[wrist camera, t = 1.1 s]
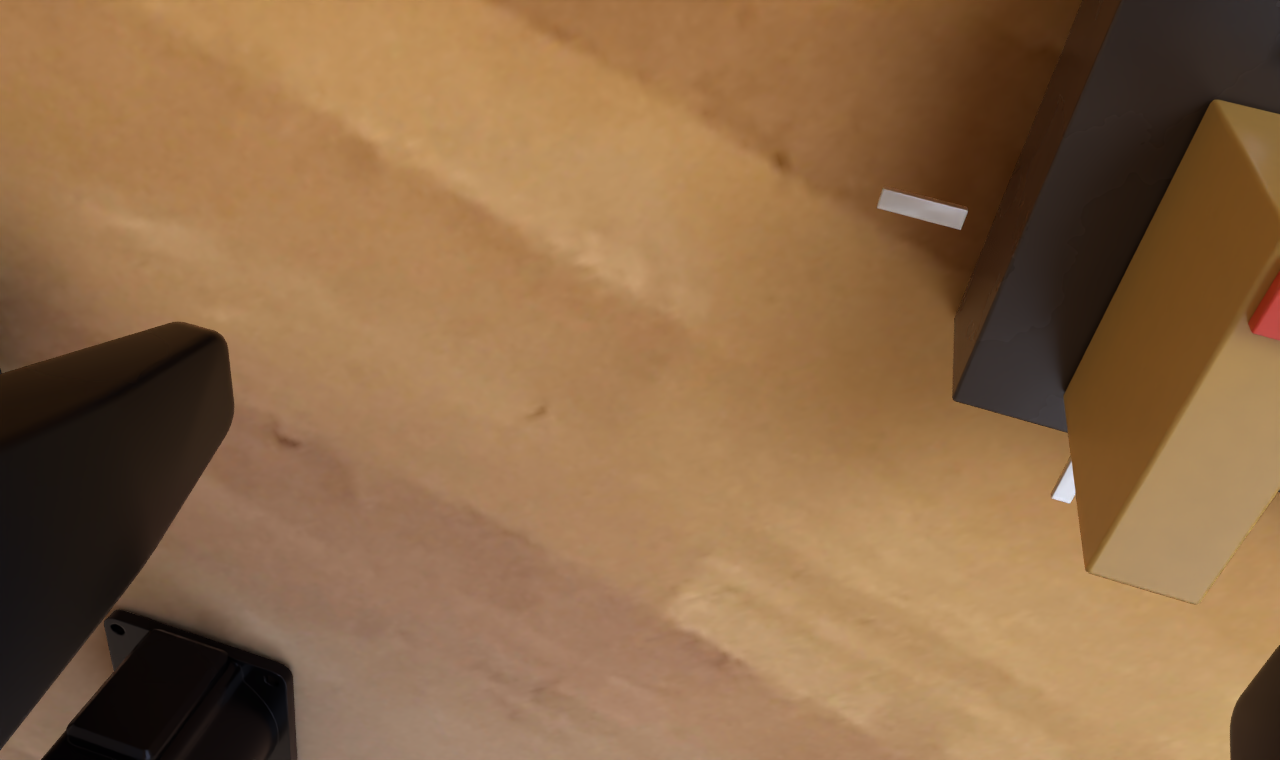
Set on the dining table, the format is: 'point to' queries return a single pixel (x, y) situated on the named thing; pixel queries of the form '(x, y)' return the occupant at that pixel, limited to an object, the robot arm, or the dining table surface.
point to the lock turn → (1187, 372)
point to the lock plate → (1092, 188)
